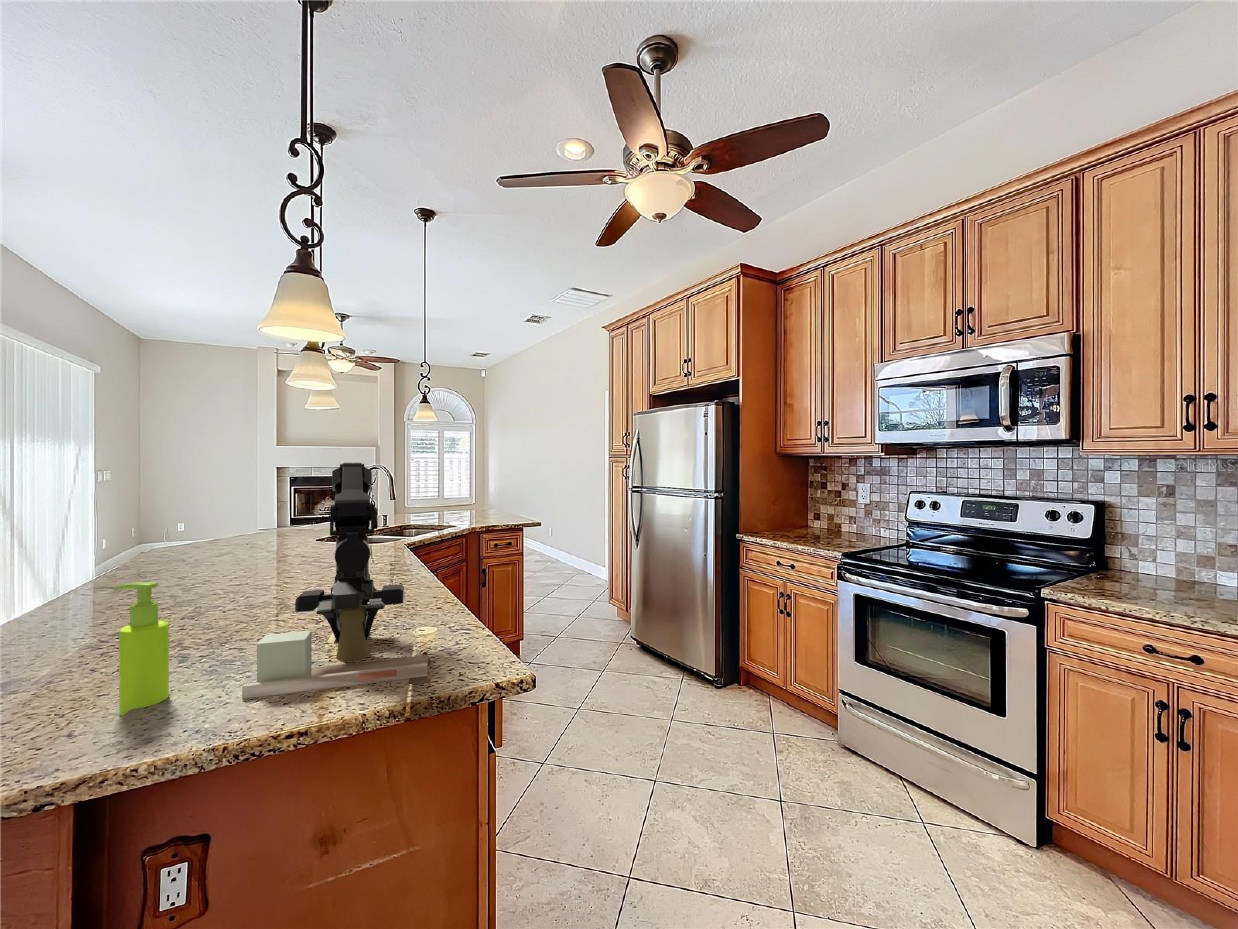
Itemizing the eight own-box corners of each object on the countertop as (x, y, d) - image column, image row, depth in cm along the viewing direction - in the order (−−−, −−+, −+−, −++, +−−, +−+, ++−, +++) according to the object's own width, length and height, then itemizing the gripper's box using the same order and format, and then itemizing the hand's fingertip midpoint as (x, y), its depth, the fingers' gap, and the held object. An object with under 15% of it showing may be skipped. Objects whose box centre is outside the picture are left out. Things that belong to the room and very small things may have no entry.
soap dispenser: (133, 700, 88) (132, 579, 88) (177, 699, 88) (177, 578, 88) (101, 717, 82) (101, 587, 82) (149, 716, 82) (149, 586, 82)
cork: (355, 668, 101) (355, 610, 101) (328, 666, 102) (328, 609, 102) (376, 657, 107) (376, 602, 107) (349, 655, 108) (349, 601, 108)
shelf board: (263, 679, 96) (262, 662, 96) (427, 661, 105) (427, 644, 105) (242, 706, 86) (242, 686, 86) (427, 682, 95) (427, 664, 95)
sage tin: (266, 680, 93) (265, 634, 93) (311, 675, 95) (311, 630, 95) (256, 692, 88) (256, 644, 88) (305, 686, 90) (305, 639, 90)
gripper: (287, 573, 94) (287, 661, 94) (401, 566, 100) (401, 649, 100) (302, 562, 105) (302, 641, 105) (404, 556, 111) (404, 631, 111)
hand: (352, 641), depth 105 cm, fingers open, 5 cm apart
